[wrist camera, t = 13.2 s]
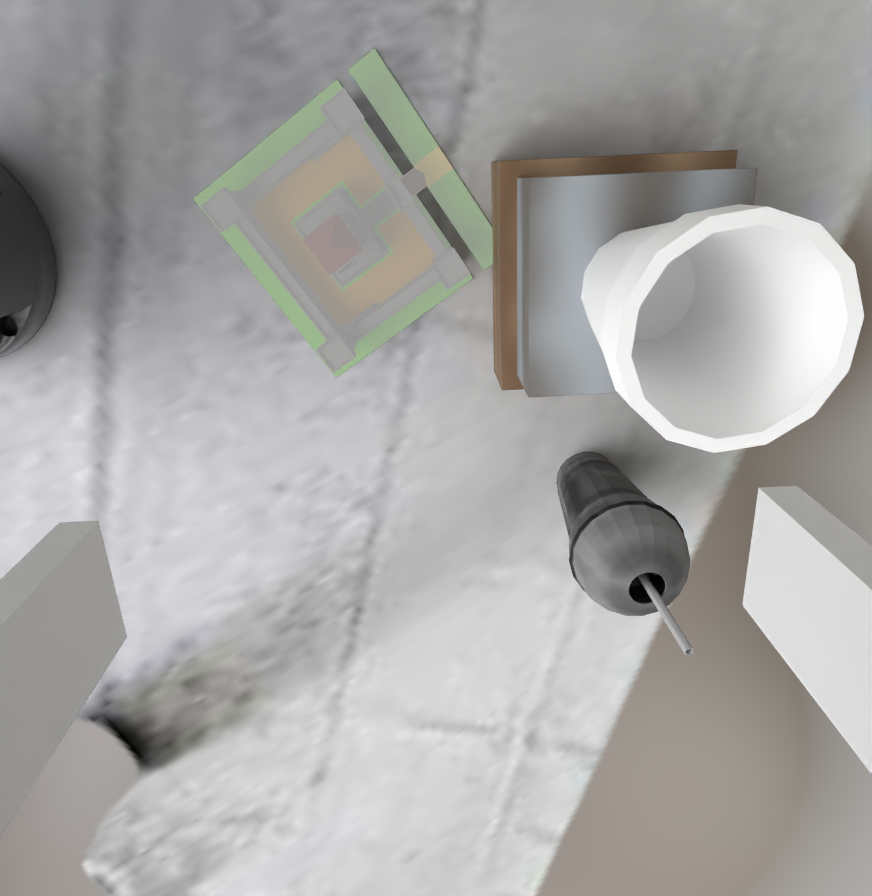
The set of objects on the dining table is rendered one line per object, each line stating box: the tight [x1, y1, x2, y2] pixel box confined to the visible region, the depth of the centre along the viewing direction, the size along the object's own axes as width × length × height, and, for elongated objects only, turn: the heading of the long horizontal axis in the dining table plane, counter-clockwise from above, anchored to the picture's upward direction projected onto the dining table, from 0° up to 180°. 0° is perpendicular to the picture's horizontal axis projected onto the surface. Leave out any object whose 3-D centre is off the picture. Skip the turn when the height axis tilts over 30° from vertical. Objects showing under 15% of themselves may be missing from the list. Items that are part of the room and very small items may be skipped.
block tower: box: [491, 150, 757, 397], centre depth 43 cm, size 14×14×10 cm
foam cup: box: [581, 204, 864, 453], centre depth 33 cm, size 10×9×13 cm
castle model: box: [194, 48, 493, 377], centre depth 44 cm, size 15×15×8 cm
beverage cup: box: [557, 452, 694, 655], centre depth 44 cm, size 7×7×20 cm
